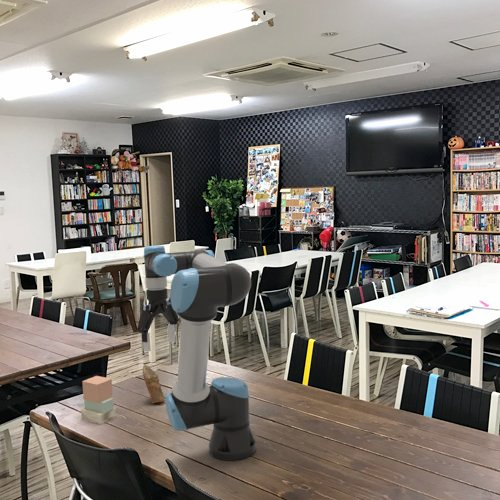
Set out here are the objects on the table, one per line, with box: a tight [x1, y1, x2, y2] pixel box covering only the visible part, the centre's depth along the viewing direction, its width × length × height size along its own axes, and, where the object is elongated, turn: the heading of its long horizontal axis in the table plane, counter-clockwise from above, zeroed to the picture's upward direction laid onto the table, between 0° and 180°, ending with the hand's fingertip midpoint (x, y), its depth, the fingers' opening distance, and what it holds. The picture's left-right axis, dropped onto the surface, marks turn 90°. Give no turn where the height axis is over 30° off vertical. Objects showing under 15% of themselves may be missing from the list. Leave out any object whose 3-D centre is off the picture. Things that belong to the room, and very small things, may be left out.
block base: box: [80, 406, 117, 425], centre depth 216 cm, size 8×10×4 cm
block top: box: [83, 397, 115, 413], centre depth 216 cm, size 5×10×4 cm, turn 60°
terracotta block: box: [82, 375, 114, 403], centre depth 215 cm, size 7×8×7 cm
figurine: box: [142, 364, 165, 404], centre depth 230 cm, size 8×8×15 cm
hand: (159, 346), depth 210 cm, fingers open, 13 cm apart
